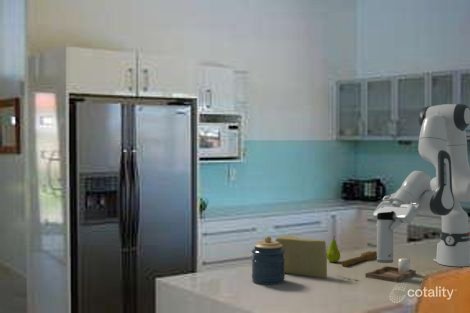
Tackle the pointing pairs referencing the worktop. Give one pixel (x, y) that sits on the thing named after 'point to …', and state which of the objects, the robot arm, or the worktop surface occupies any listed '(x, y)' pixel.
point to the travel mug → (384, 237)
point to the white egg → (403, 266)
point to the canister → (268, 262)
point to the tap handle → (360, 258)
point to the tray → (389, 274)
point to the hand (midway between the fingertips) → (384, 228)
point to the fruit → (333, 252)
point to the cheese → (304, 256)
